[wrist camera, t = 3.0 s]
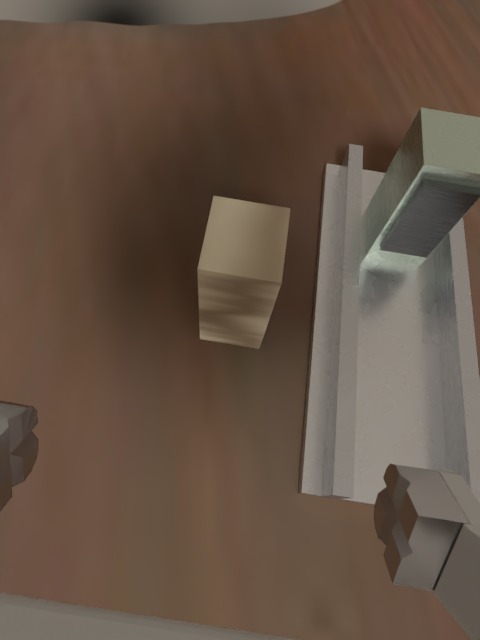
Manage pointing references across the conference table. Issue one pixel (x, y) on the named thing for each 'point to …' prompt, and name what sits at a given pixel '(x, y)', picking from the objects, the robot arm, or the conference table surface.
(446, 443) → the rail
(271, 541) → the conference table surface
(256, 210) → the wooden block
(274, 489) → the conference table surface
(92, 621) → the robot arm
